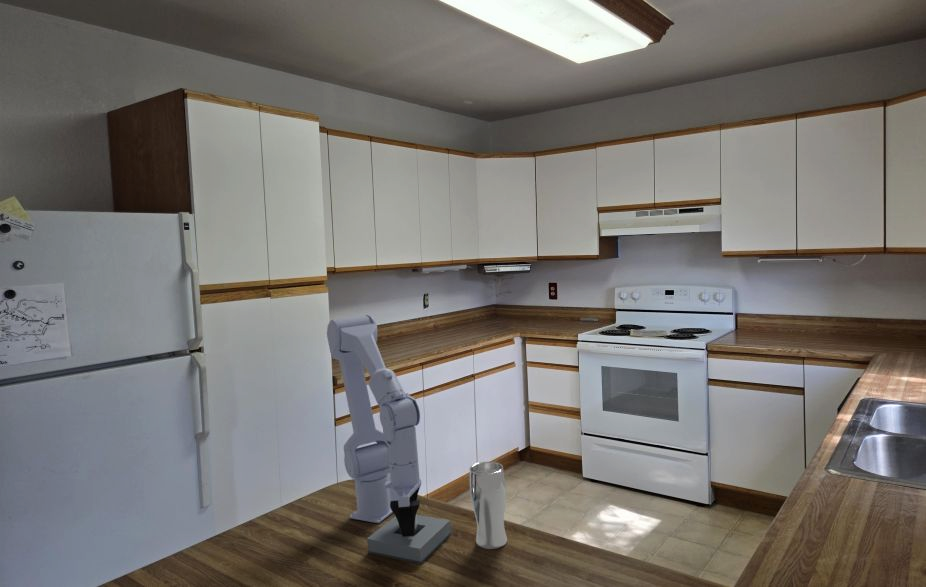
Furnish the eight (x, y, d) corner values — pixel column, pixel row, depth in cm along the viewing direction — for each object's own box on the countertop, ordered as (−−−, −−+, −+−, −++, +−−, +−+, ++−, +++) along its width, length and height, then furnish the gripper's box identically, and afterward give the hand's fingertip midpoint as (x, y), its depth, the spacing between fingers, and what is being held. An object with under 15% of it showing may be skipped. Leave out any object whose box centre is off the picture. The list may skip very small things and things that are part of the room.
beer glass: (515, 544, 121) (510, 469, 119) (482, 553, 118) (476, 477, 117) (500, 529, 127) (495, 458, 126) (468, 538, 125) (463, 465, 123)
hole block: (401, 525, 132) (400, 512, 132) (451, 534, 127) (450, 520, 126) (368, 553, 122) (366, 538, 121) (421, 564, 116) (419, 548, 116)
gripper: (386, 449, 130) (391, 511, 131) (379, 476, 115) (385, 546, 116) (420, 446, 130) (425, 508, 131) (417, 472, 115) (423, 542, 117)
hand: (409, 526), depth 124 cm, fingers open, 7 cm apart
